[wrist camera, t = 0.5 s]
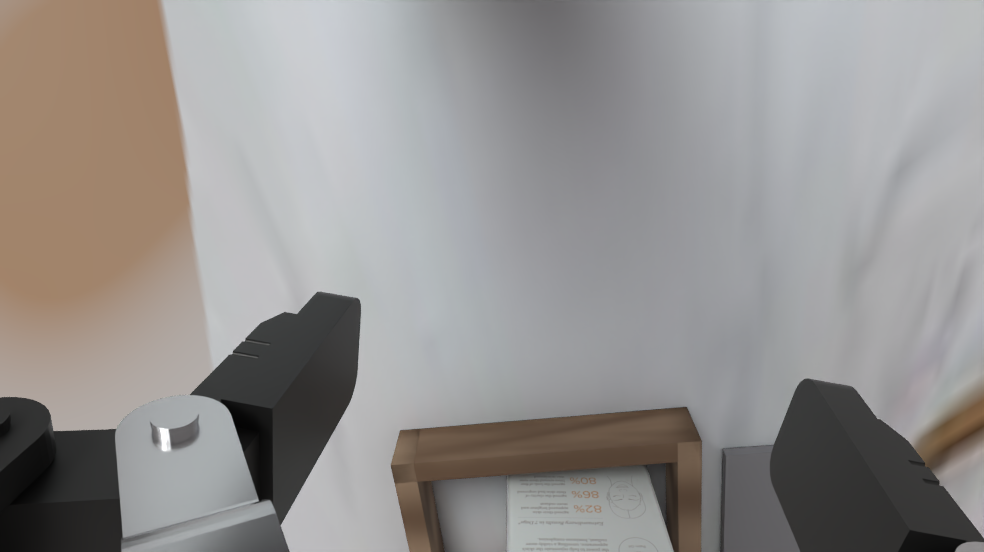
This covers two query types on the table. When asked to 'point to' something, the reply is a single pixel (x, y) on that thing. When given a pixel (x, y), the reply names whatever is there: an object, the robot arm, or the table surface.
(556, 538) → the small box
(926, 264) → the table surface
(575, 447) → the walnut rack
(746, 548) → the charcoal mat
